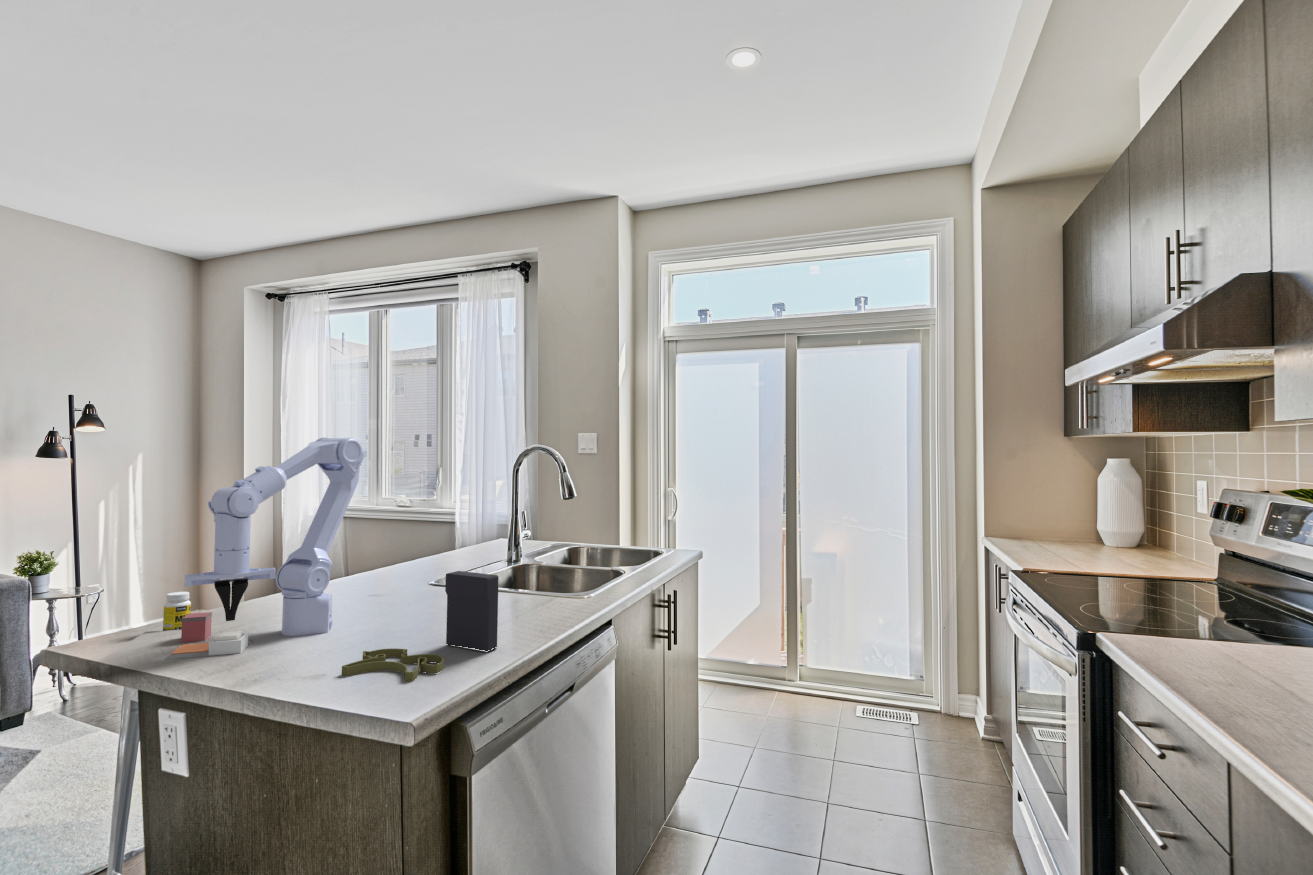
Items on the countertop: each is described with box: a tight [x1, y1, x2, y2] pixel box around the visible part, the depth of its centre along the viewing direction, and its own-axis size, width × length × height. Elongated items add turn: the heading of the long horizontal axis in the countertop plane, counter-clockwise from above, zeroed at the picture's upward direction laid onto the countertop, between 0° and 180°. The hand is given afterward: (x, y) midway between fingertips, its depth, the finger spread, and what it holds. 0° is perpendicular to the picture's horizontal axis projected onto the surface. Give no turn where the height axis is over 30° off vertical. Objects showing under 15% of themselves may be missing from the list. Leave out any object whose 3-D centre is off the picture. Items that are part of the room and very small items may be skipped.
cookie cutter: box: [341, 648, 445, 682], centre depth 117 cm, size 18×12×2 cm, turn 79°
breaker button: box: [214, 630, 244, 641], centre depth 122 cm, size 4×4×3 cm
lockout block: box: [180, 611, 213, 643], centre depth 130 cm, size 4×4×6 cm
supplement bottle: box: [162, 591, 192, 632], centre depth 139 cm, size 5×5×8 cm
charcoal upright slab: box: [444, 570, 499, 651], centre depth 130 cm, size 11×4×15 cm, turn 65°
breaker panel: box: [164, 632, 253, 661], centre depth 122 cm, size 12×9×4 cm
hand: (230, 619), depth 122 cm, fingers closed
